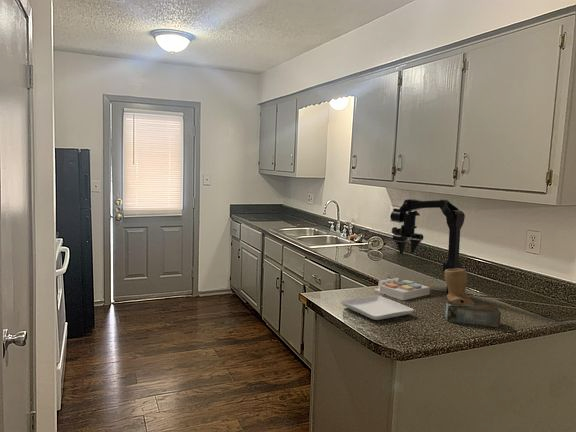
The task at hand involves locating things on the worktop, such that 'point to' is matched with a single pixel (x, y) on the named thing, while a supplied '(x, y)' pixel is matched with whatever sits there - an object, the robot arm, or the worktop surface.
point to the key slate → (415, 286)
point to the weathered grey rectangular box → (473, 314)
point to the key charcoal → (400, 283)
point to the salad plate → (377, 307)
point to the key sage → (408, 282)
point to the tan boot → (457, 286)
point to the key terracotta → (391, 285)
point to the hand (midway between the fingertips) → (406, 253)
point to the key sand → (407, 287)
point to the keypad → (401, 290)
